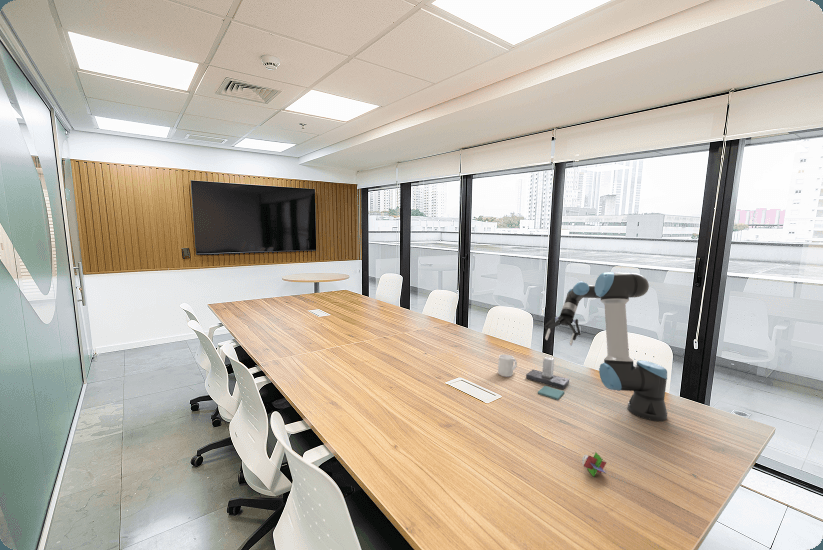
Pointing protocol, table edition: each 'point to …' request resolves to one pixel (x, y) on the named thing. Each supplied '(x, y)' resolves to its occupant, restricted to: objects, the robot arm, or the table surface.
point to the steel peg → (548, 367)
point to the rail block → (555, 381)
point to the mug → (506, 365)
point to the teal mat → (551, 392)
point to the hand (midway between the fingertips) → (558, 341)
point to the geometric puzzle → (594, 464)
